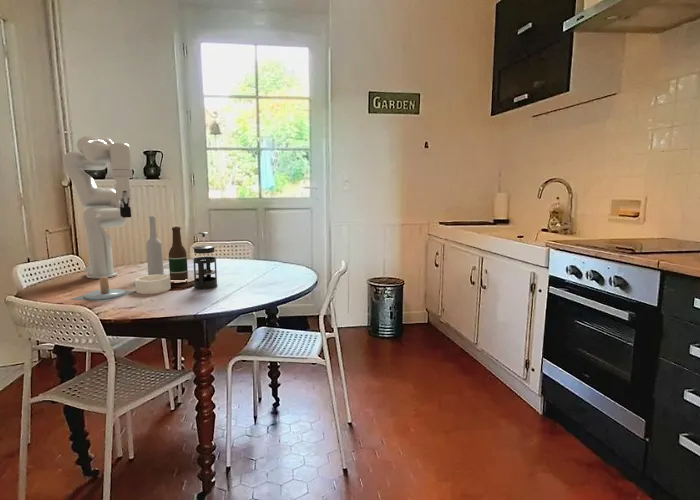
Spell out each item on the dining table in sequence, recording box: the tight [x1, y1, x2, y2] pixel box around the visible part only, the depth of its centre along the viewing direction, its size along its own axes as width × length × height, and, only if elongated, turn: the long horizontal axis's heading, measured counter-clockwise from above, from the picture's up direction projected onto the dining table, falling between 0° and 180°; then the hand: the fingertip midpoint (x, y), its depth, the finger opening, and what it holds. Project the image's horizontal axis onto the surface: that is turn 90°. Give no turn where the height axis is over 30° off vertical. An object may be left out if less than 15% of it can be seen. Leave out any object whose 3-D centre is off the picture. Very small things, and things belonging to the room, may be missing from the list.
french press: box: [192, 231, 219, 290], centre depth 186 cm, size 12×9×23 cm
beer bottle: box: [168, 226, 189, 280], centre depth 196 cm, size 8×8×24 cm
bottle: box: [145, 215, 165, 275], centre depth 203 cm, size 7×7×28 cm
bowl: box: [134, 274, 172, 295], centre depth 180 cm, size 12×12×6 cm
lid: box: [84, 277, 126, 300], centre depth 172 cm, size 14×14×7 cm
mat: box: [71, 290, 137, 303], centre depth 172 cm, size 16×16×1 cm
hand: (125, 216), depth 184 cm, fingers open, 9 cm apart
